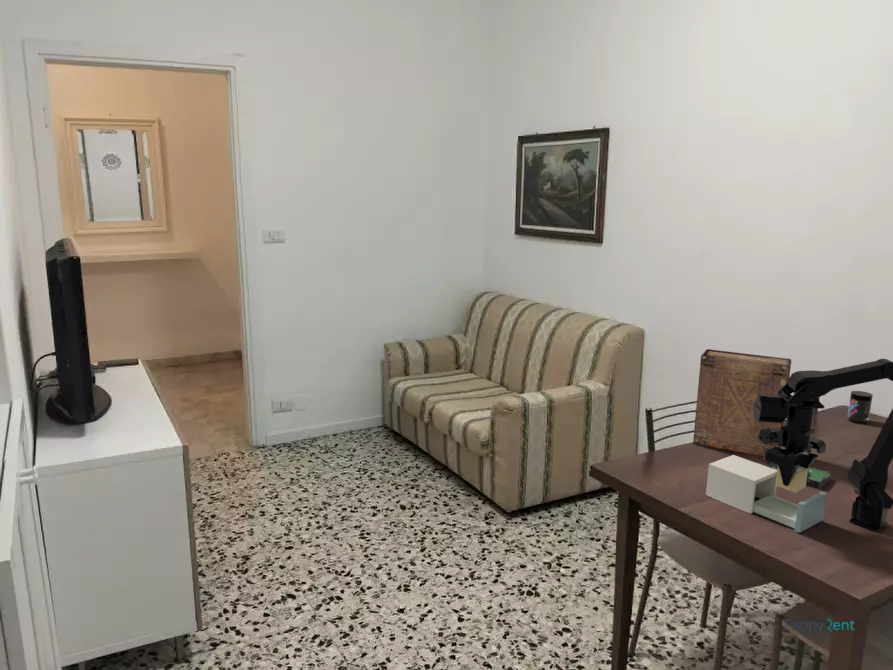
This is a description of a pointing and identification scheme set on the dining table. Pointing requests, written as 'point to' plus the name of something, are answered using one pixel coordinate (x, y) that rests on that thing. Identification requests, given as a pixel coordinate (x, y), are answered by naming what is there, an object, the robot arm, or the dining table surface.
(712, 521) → the dining table surface
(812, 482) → the disk drive
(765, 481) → the panel
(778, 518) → the tray
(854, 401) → the supplement container
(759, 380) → the book
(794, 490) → the dome button cube
